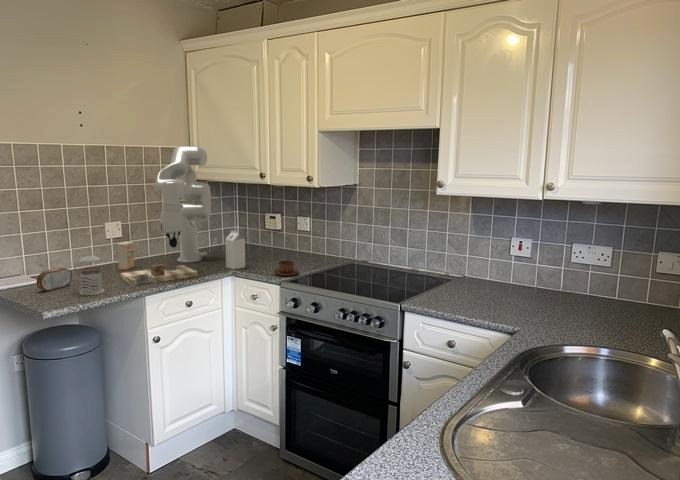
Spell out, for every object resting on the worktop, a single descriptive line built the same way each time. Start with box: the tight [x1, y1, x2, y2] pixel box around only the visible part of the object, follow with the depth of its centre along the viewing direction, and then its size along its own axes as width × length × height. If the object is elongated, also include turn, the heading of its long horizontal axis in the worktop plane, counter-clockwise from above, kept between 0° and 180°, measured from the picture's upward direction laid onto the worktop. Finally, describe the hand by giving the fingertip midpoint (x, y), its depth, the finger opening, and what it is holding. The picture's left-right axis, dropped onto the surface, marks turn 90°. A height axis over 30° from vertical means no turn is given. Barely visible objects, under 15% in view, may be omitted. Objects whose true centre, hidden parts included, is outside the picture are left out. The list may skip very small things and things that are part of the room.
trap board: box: [119, 264, 198, 287], centre depth 235 cm, size 30×17×2 cm, turn 130°
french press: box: [72, 232, 106, 296], centre depth 207 cm, size 10×12×25 cm
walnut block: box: [150, 263, 165, 276], centre depth 230 cm, size 4×4×4 cm
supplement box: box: [117, 241, 135, 271], centre depth 252 cm, size 8×5×13 cm, turn 179°
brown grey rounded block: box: [36, 267, 73, 292], centre depth 213 cm, size 15×3×8 cm, turn 157°
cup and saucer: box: [273, 260, 299, 277], centre depth 245 cm, size 12×12×6 cm
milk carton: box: [225, 230, 246, 270], centre depth 257 cm, size 7×7×19 cm
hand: (173, 246), depth 234 cm, fingers closed
